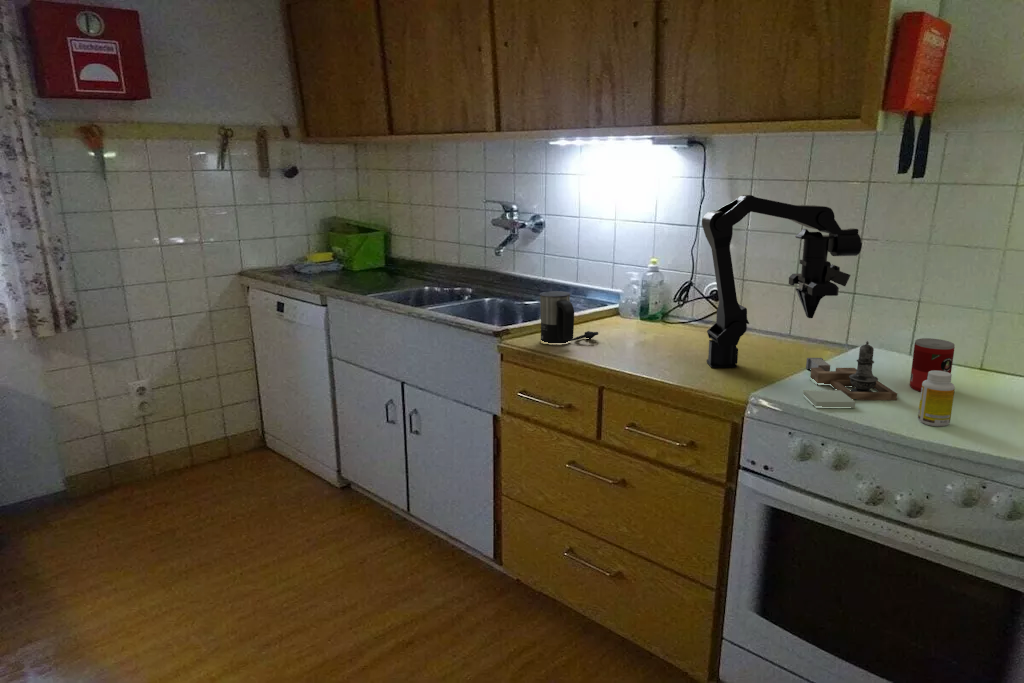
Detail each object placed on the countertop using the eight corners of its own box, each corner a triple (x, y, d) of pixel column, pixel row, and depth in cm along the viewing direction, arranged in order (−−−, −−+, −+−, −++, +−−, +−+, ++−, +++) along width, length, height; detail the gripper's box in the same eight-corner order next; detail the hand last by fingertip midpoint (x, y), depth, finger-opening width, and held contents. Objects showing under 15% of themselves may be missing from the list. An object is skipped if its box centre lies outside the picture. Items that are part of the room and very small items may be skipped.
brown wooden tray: (834, 399, 155) (835, 386, 154) (810, 379, 170) (811, 367, 169) (896, 400, 154) (898, 387, 153) (866, 379, 169) (868, 367, 168)
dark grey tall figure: (870, 389, 162) (876, 338, 159) (880, 397, 156) (886, 344, 153) (843, 388, 163) (848, 337, 160) (853, 396, 157) (858, 344, 154)
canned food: (929, 395, 157) (936, 347, 154) (901, 385, 164) (906, 339, 161) (957, 392, 159) (963, 344, 156) (927, 382, 166) (933, 336, 163)
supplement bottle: (956, 427, 138) (963, 376, 136) (928, 427, 138) (935, 377, 135) (937, 417, 143) (944, 368, 141) (911, 418, 143) (917, 369, 141)
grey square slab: (815, 408, 150) (816, 401, 149) (802, 396, 157) (803, 390, 157) (854, 408, 149) (855, 401, 149) (839, 396, 157) (840, 390, 156)
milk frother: (533, 342, 210) (532, 293, 206) (569, 334, 220) (569, 286, 217) (567, 351, 200) (568, 299, 196) (604, 341, 210) (605, 292, 206)
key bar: (815, 376, 172) (816, 365, 171) (805, 368, 179) (806, 357, 178) (830, 376, 172) (832, 365, 171) (820, 368, 178) (821, 357, 178)
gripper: (863, 261, 168) (857, 325, 171) (833, 252, 186) (828, 310, 190) (815, 261, 168) (810, 325, 172) (790, 252, 187) (785, 310, 190)
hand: (809, 317), depth 181 cm, fingers closed
